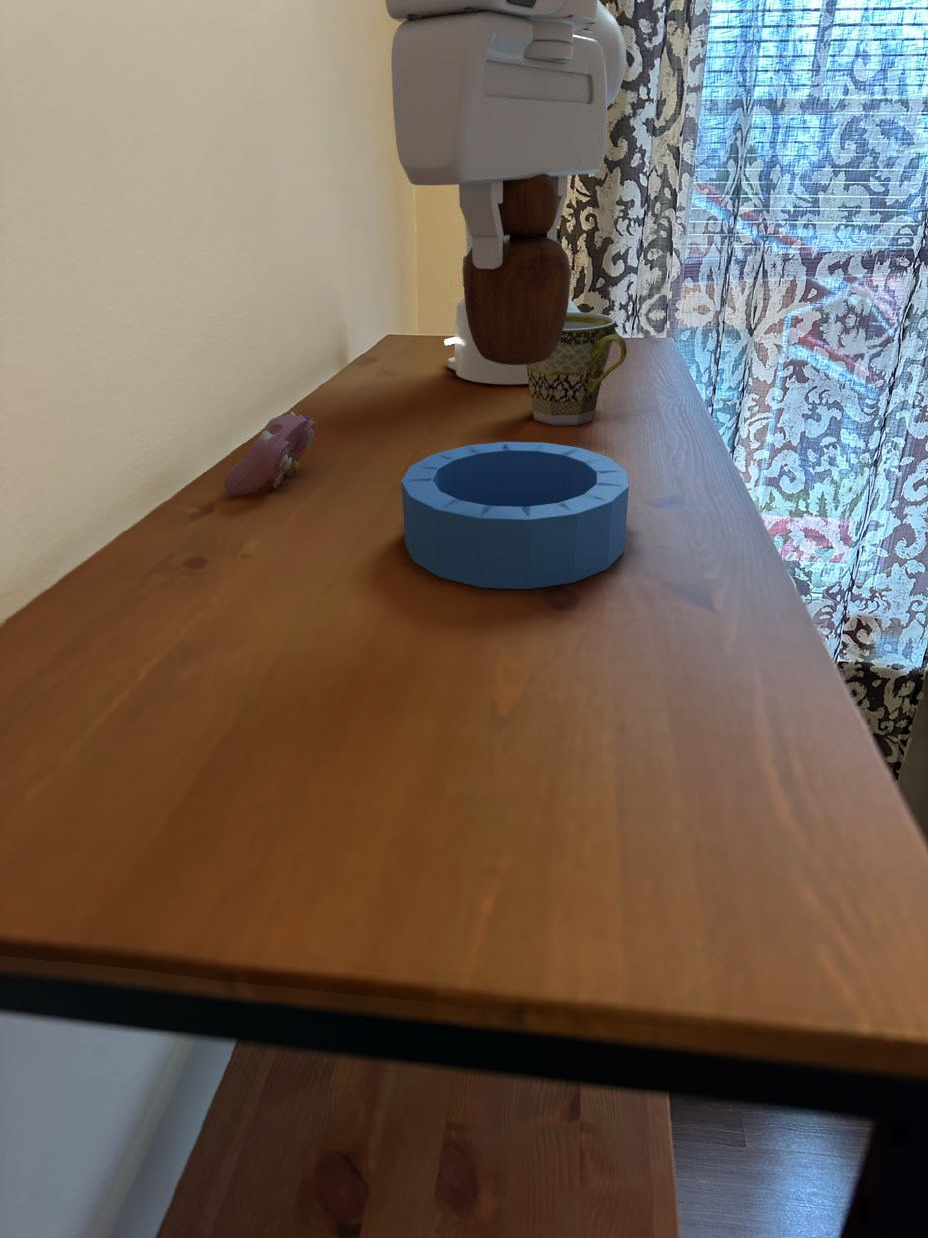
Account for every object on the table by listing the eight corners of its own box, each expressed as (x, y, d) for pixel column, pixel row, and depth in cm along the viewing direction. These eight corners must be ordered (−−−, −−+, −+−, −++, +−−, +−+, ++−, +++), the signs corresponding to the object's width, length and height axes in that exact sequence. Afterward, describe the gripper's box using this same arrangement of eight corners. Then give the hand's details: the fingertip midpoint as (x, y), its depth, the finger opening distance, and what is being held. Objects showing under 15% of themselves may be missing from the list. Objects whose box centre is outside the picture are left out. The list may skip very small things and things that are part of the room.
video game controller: (265, 517, 71) (290, 447, 67) (217, 492, 71) (239, 421, 67) (306, 478, 79) (331, 414, 76) (263, 455, 79) (286, 390, 75)
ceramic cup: (498, 416, 91) (498, 320, 86) (562, 399, 96) (565, 308, 91) (586, 442, 82) (591, 337, 77) (651, 422, 87) (659, 322, 82)
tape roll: (475, 488, 71) (473, 431, 69) (653, 521, 64) (659, 459, 62) (364, 559, 60) (358, 493, 57) (568, 609, 52) (571, 536, 50)
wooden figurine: (454, 367, 54) (445, 96, 47) (481, 349, 59) (476, 100, 52) (556, 371, 52) (563, 89, 45) (575, 353, 57) (584, 94, 50)
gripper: (547, 16, 55) (542, 244, 62) (362, -31, 40) (383, 279, 46) (638, 5, 52) (623, 246, 59) (476, -49, 37) (481, 284, 44)
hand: (516, 261), depth 52 cm, fingers closed on wooden figurine, 5 cm apart
